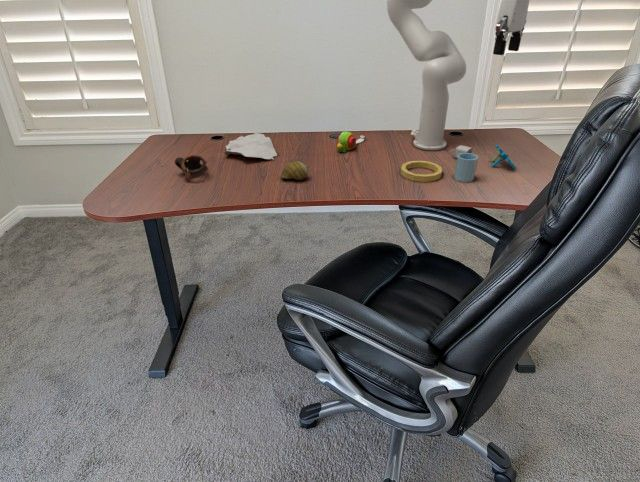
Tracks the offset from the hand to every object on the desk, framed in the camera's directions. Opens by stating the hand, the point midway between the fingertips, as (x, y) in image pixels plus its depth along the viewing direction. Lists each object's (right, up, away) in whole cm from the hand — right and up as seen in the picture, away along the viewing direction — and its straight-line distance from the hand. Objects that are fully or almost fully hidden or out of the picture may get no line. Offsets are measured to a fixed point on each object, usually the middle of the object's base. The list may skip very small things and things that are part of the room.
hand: (505, 52), depth 131 cm
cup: (-10, -38, +8) cm, 40 cm away
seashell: (-66, -38, +10) cm, 77 cm away
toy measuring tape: (-45, -21, +35) cm, 61 cm away
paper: (-84, -25, +30) cm, 93 cm away
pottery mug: (-101, -36, +13) cm, 108 cm away
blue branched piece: (+6, -33, +16) cm, 37 cm away
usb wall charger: (-7, -28, +24) cm, 37 cm away
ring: (-24, -36, +12) cm, 44 cm away
